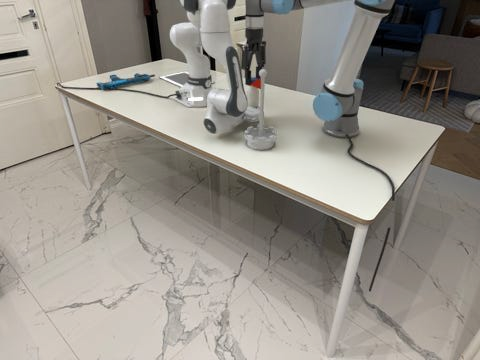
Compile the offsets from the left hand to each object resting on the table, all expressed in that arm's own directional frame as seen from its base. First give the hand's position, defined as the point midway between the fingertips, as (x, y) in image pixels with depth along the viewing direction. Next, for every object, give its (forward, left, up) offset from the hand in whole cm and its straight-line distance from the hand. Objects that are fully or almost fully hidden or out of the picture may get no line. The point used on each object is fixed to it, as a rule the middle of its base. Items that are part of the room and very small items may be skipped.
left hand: (253, 106), depth 158 cm
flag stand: (+19, -19, -6) cm, 27 cm away
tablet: (-70, +20, -6) cm, 73 cm away
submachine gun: (-96, -6, -6) cm, 97 cm away
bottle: (0, -1, -6) cm, 6 cm away
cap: (0, -1, +13) cm, 13 cm away
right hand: (0, -1, +11) cm, 11 cm away
